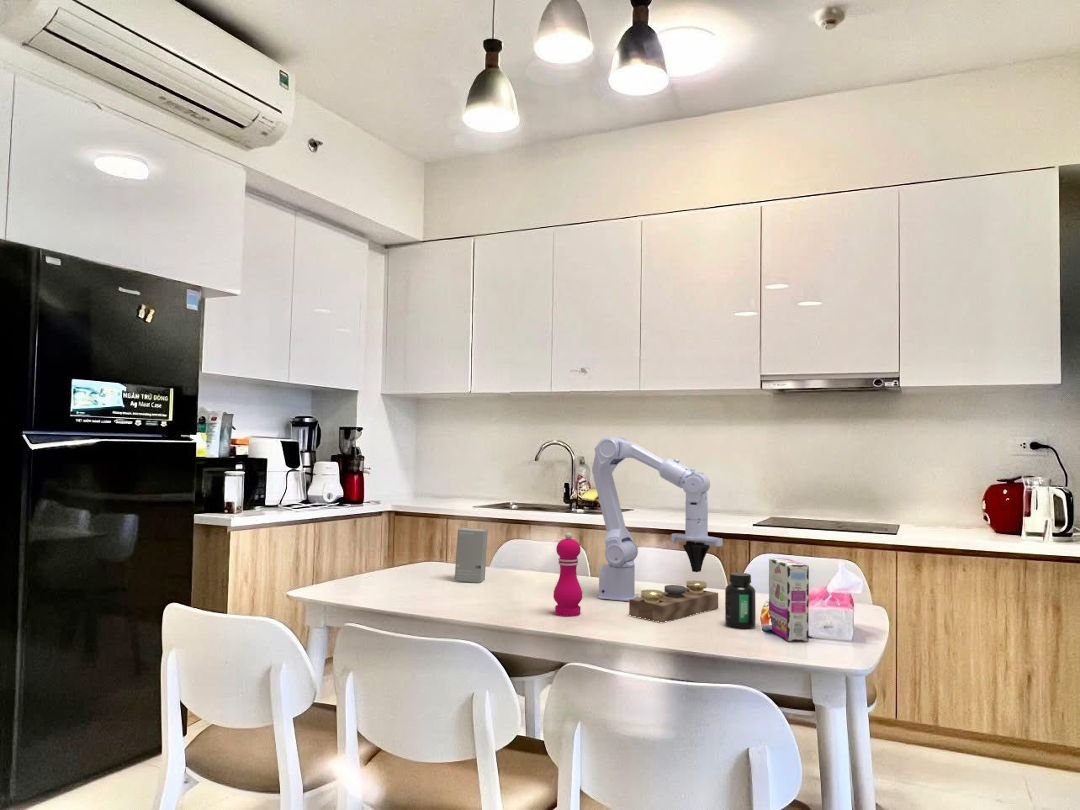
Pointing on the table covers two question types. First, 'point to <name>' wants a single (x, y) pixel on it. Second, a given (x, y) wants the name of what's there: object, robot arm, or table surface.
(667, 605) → the control panel
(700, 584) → the far brass knob
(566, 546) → the pepper mill
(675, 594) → the middle black knob
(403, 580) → the table surface
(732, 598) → the supplement bottle
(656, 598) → the near brass knob
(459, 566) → the skincare box
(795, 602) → the candy bar box
